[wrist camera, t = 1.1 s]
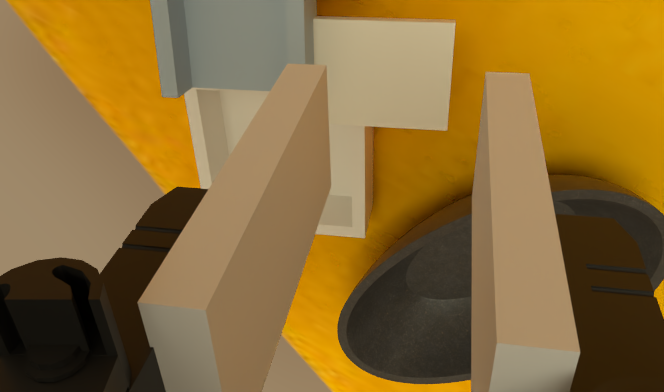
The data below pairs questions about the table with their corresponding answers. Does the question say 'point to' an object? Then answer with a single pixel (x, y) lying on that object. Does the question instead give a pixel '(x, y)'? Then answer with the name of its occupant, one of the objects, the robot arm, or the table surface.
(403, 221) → the table surface
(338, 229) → the dish
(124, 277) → the robot arm
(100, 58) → the table surface
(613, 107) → the table surface
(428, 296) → the bowl
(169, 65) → the ramp
